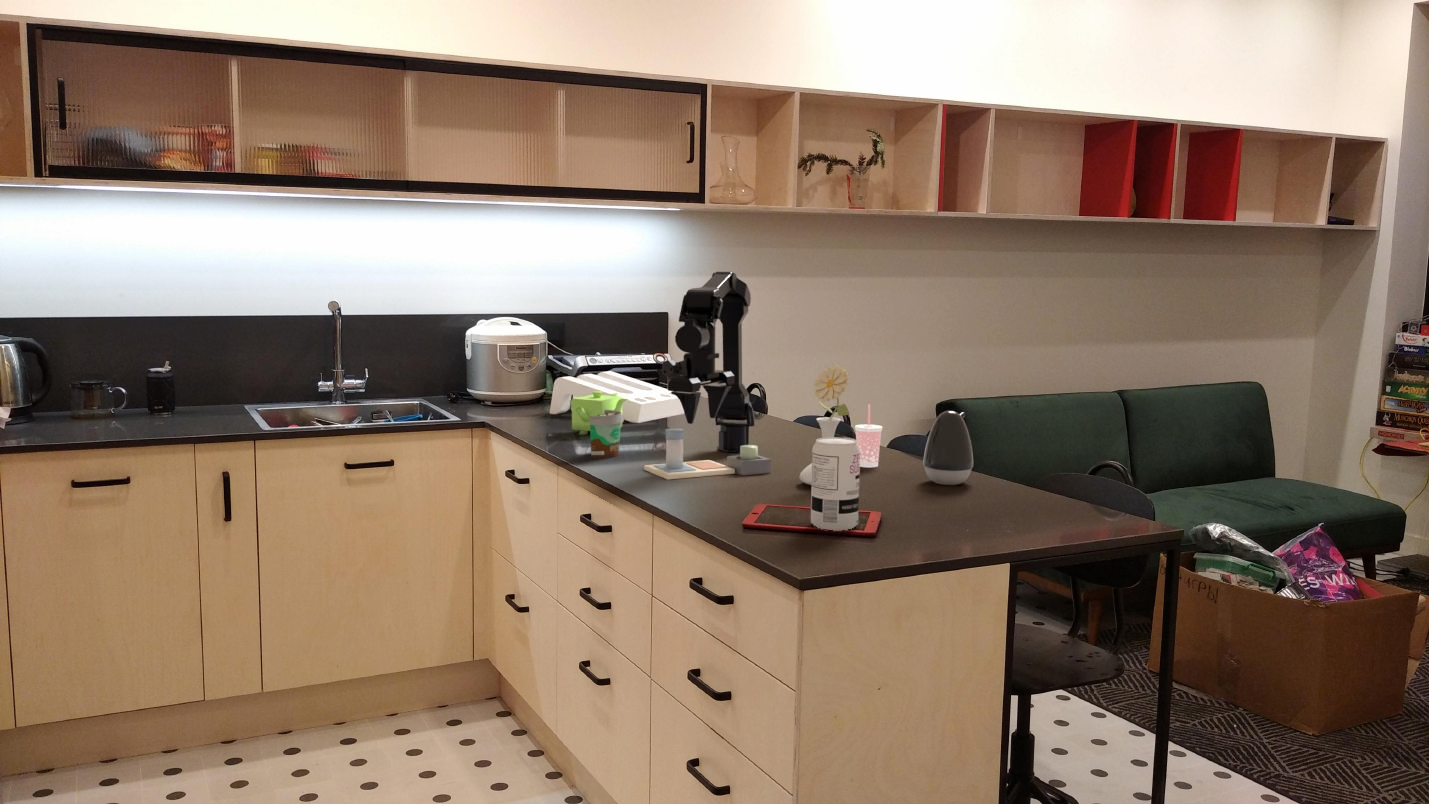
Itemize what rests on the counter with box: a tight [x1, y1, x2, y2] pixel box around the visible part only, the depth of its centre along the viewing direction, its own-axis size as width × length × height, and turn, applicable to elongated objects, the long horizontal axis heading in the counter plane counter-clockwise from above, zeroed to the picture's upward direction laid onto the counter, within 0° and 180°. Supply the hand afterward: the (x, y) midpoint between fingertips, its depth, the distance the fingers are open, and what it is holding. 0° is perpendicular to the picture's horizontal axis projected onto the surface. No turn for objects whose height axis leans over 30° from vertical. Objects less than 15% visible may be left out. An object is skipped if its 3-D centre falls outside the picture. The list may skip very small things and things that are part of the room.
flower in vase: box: [798, 365, 851, 486], centre depth 220 cm, size 13×11×25 cm
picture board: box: [643, 459, 736, 480], centre depth 235 cm, size 16×12×1 cm
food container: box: [589, 410, 625, 459], centre depth 254 cm, size 12×6×10 cm, turn 168°
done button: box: [739, 444, 759, 460], centre depth 236 cm, size 4×4×4 cm
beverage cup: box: [854, 403, 883, 468], centre depth 244 cm, size 6×6×14 cm
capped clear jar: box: [665, 427, 684, 469], centre depth 233 cm, size 4×4×8 cm
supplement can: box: [810, 436, 861, 532], centre depth 187 cm, size 8×8×15 cm
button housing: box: [726, 454, 772, 476], centre depth 236 cm, size 7×7×3 cm
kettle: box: [569, 391, 628, 436], centre depth 287 cm, size 15×14×11 cm
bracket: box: [549, 370, 685, 424], centre depth 325 cm, size 24×12×32 cm
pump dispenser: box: [922, 410, 974, 486], centre depth 226 cm, size 10×10×15 cm
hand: (701, 420), depth 234 cm, fingers open, 9 cm apart
